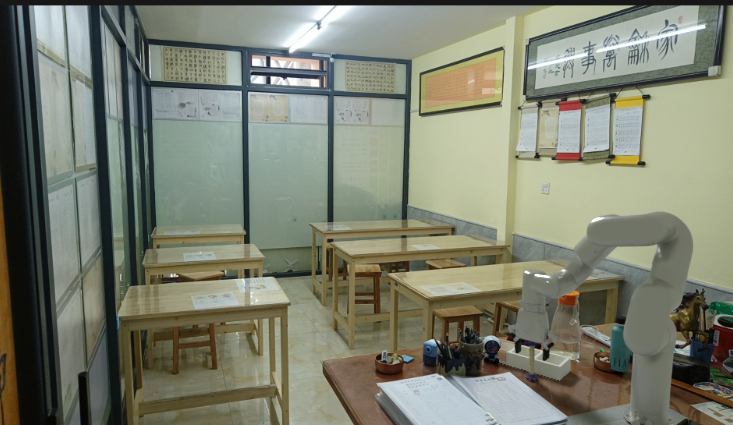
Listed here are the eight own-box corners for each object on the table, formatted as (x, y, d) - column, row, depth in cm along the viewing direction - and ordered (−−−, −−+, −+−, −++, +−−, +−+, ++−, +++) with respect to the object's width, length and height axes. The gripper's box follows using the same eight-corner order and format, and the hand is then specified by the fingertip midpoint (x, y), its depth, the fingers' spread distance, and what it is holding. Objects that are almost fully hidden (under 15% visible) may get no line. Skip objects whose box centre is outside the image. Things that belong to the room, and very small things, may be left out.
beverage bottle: (610, 374, 166) (613, 319, 164) (606, 367, 172) (609, 313, 170) (631, 377, 164) (634, 320, 162) (626, 369, 170) (630, 314, 168)
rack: (559, 381, 160) (559, 366, 160) (483, 359, 179) (483, 345, 178) (569, 371, 168) (570, 357, 168) (496, 350, 187) (496, 337, 186)
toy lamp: (528, 383, 160) (530, 334, 158) (520, 377, 164) (522, 330, 162) (540, 381, 161) (542, 333, 159) (532, 375, 165) (534, 328, 164)
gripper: (504, 304, 163) (502, 352, 164) (555, 314, 151) (553, 366, 153) (513, 299, 168) (512, 346, 170) (563, 309, 157) (561, 359, 159)
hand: (531, 355), depth 162 cm, fingers open, 9 cm apart
